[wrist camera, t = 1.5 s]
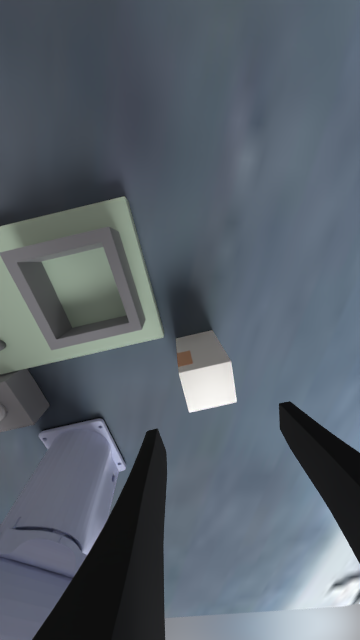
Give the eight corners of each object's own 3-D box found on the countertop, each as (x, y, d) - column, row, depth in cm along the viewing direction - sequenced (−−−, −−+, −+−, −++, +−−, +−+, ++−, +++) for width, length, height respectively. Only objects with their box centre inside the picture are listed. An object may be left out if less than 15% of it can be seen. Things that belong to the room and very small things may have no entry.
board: (164, 332, 18) (163, 349, 15) (-19, 374, 19) (-62, 400, 15) (128, 201, 14) (115, 182, 11) (-105, 257, 15) (-190, 257, 11)
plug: (217, 361, 20) (237, 402, 14) (183, 369, 20) (189, 413, 15) (212, 329, 19) (231, 360, 13) (175, 338, 19) (178, 372, 13)
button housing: (49, 405, 21) (31, 427, 18) (4, 415, 21) (-21, 439, 18) (25, 365, 19) (1, 384, 16) (-25, 377, 19) (-58, 397, 16)
